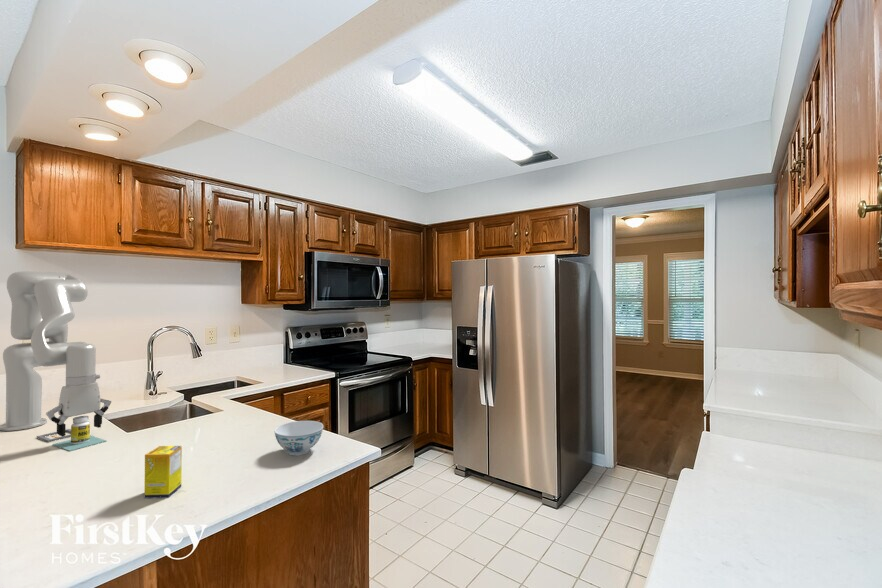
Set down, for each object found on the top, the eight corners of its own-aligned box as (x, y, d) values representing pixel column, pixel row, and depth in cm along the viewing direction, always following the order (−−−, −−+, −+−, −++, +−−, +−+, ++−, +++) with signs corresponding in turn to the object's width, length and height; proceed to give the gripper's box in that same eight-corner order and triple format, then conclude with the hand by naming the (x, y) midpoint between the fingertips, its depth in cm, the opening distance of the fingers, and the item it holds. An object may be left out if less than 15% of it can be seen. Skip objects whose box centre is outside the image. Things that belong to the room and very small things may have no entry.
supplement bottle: (78, 445, 134) (78, 419, 134) (66, 444, 135) (67, 418, 135) (93, 440, 139) (93, 415, 139) (82, 439, 140) (82, 414, 140)
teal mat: (52, 445, 135) (52, 444, 135) (89, 435, 144) (89, 435, 144) (69, 451, 129) (69, 450, 129) (106, 441, 138) (106, 440, 138)
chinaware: (332, 446, 135) (332, 423, 135) (303, 463, 121) (303, 438, 121) (295, 440, 140) (295, 418, 140) (263, 456, 126) (263, 432, 126)
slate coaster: (36, 437, 141) (36, 436, 141) (69, 430, 149) (69, 428, 149) (48, 442, 137) (48, 440, 137) (81, 434, 145) (81, 432, 145)
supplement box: (158, 487, 106) (158, 445, 106) (182, 486, 106) (182, 445, 106) (143, 498, 100) (143, 454, 100) (168, 497, 100) (169, 453, 100)
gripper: (105, 375, 146) (104, 422, 146) (41, 384, 131) (41, 437, 131) (116, 377, 143) (115, 425, 143) (52, 386, 127) (51, 441, 127)
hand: (80, 431), depth 137 cm, fingers open, 9 cm apart
